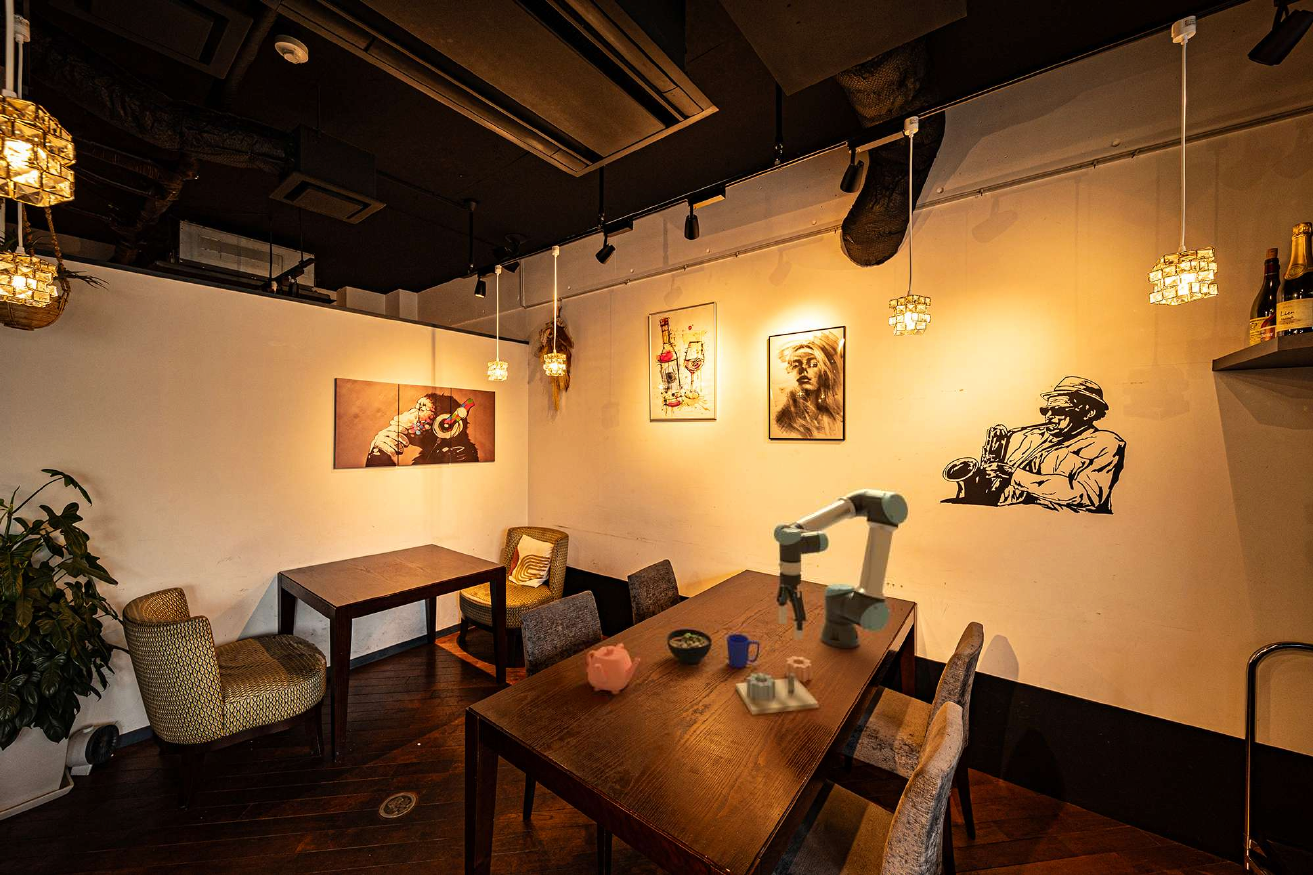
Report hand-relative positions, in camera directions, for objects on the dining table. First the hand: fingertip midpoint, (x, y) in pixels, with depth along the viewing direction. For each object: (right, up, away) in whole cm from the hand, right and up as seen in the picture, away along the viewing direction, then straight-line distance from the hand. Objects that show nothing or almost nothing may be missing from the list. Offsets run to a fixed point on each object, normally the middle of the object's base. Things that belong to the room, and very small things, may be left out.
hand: (790, 630), depth 176 cm
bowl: (-36, -16, +11) cm, 41 cm away
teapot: (-64, -17, -8) cm, 67 cm away
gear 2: (+3, -16, -1) cm, 16 cm away
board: (-9, -16, -15) cm, 24 cm away
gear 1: (-14, -15, -16) cm, 26 cm away
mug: (-16, -16, +7) cm, 24 cm away
